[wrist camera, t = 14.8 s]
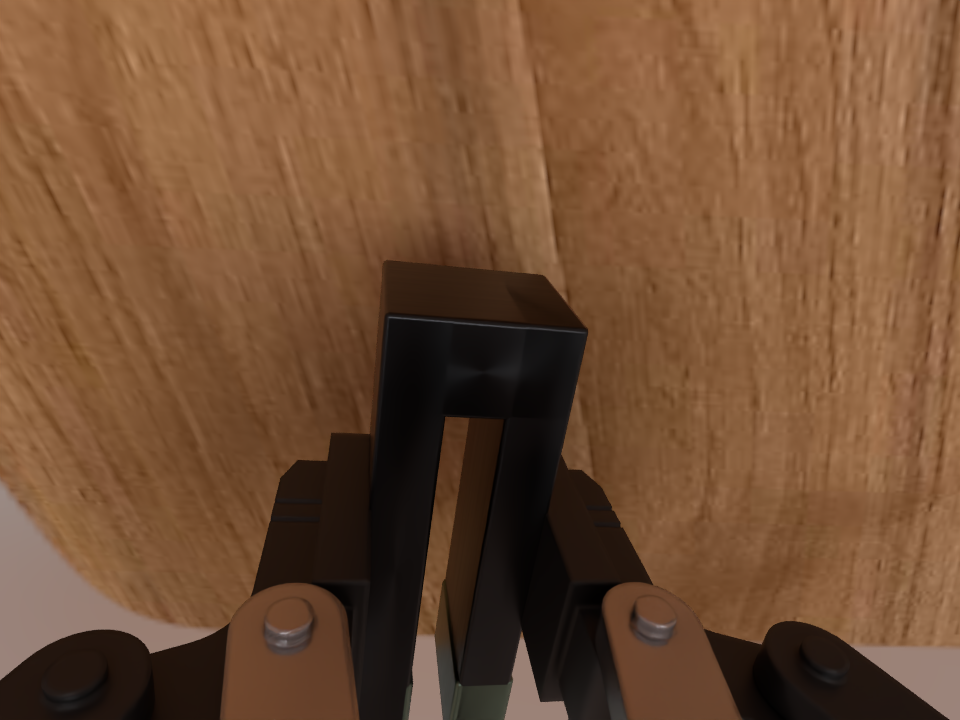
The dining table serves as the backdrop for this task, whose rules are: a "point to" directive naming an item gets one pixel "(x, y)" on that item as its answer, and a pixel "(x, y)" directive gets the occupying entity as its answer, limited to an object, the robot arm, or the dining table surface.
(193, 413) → the dining table surface
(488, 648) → the black rectangular block
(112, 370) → the dining table surface
